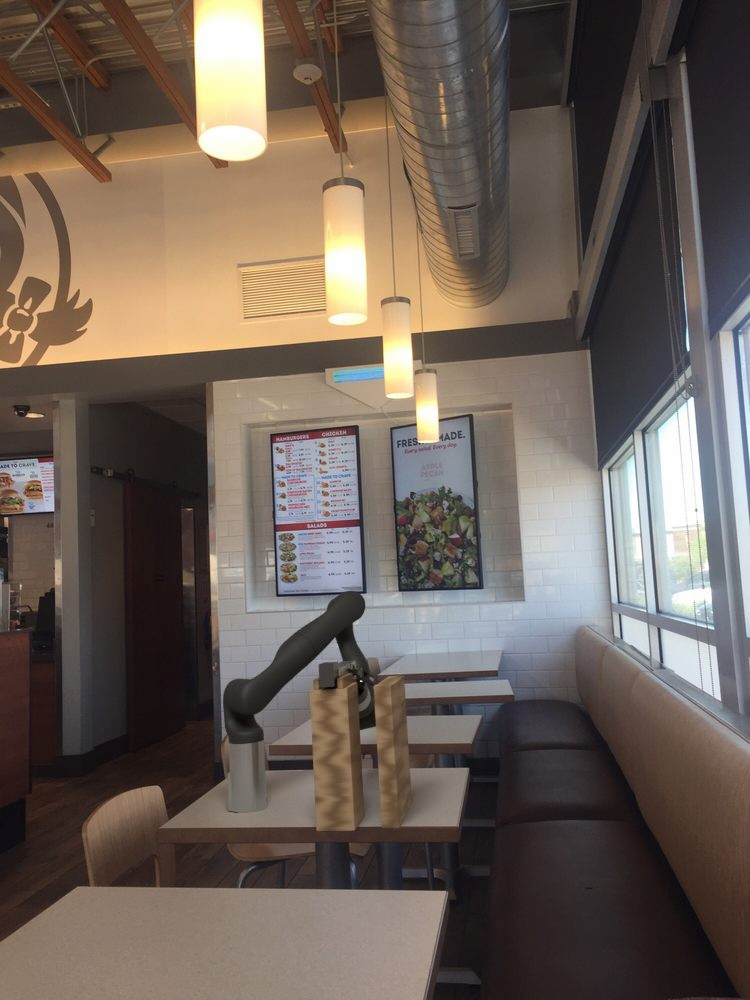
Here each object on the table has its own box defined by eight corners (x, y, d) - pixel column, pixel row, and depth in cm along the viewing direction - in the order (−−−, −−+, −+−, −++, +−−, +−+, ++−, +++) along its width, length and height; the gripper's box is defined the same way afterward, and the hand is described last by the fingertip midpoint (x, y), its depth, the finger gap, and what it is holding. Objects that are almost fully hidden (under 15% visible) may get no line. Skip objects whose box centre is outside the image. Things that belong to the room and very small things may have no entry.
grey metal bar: (334, 686, 193) (333, 664, 194) (319, 687, 194) (318, 664, 195) (356, 674, 218) (355, 654, 218) (342, 675, 218) (341, 655, 219)
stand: (316, 830, 192) (309, 679, 196) (339, 803, 215) (332, 669, 219) (397, 830, 189) (388, 676, 192) (411, 802, 212) (403, 666, 216)
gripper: (330, 680, 226) (314, 653, 213) (381, 679, 224) (369, 651, 210) (327, 707, 222) (312, 680, 208) (380, 705, 219) (367, 679, 206)
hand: (341, 666), depth 209 cm, fingers closed on grey metal bar, 3 cm apart
